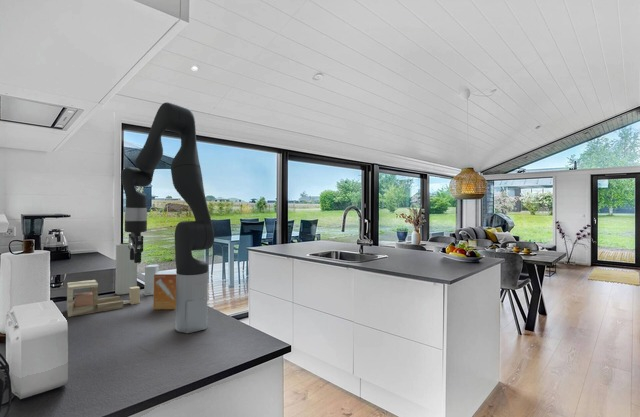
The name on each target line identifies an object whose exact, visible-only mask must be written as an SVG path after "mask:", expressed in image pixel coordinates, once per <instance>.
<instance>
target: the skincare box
mask: <svg viewBox="0 0 640 417" xmlns="http://www.w3.org/2000/svg"><path fill="white" fill-rule="evenodd" d="M159 266H160V265H159V264H148V265H146V266H145V267H144V287H143V288H144V292H143V293H144V294H143V295H144V296H154V274H156V273H158V272H159V270H160V267H159Z"/></svg>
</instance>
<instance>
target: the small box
mask: <svg viewBox="0 0 640 417" xmlns="http://www.w3.org/2000/svg"><path fill="white" fill-rule="evenodd" d="M152 305H153V306H152V307H153V308H152V309H153V310H176V270H167V271H166V270H161V271H159V272H158V273H156V274H154V295H153V304H152Z"/></svg>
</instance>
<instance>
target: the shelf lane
mask: <svg viewBox="0 0 640 417" xmlns="http://www.w3.org/2000/svg"><path fill="white" fill-rule="evenodd" d="M89 288H90V292H92V293H93V305H88V306H81V307H75V308H74V290H80V289H81V290H82V289H89ZM120 298H121V296H120V295H116V296H110V297H101V298H99V283H98V281H97V280H96V279H91V280H81V281H72V282H71V281H70V282H67V286H66V312H67V317H68V318H70V317H74V316H75V317H76V316H80V315H88V314H94V313H99V312H106V311H112V310H119V309H124V304H123V301H124V300H121V299H120Z"/></svg>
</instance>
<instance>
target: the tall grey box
mask: <svg viewBox="0 0 640 417" xmlns="http://www.w3.org/2000/svg"><path fill="white" fill-rule="evenodd" d="M128 244H129V242H122V243H121V242H120V243H116V244H115V288H114V289H115V290H114V291H115V295H129V294H130V287H136V286H138V263H134V260H130V251H131V250H129V248H128Z"/></svg>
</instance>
